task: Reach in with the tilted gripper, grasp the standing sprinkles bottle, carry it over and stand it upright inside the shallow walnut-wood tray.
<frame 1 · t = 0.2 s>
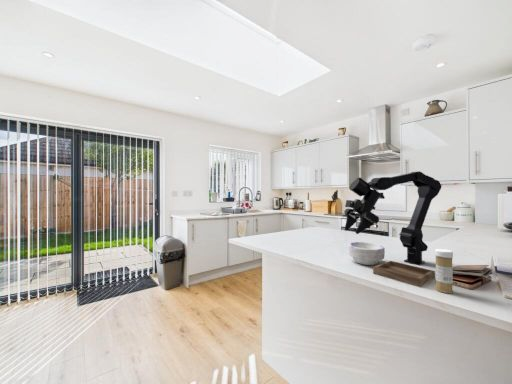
hand: (350, 231, 104), 15 cm above the countertop, tool tilted 35°, fingers open, 9 cm apart
walnut tray: (403, 275, 91), on the countertop
paper bowls: (365, 262, 108), on the countertop
sprinkles bottle: (443, 291, 77), on the countertop
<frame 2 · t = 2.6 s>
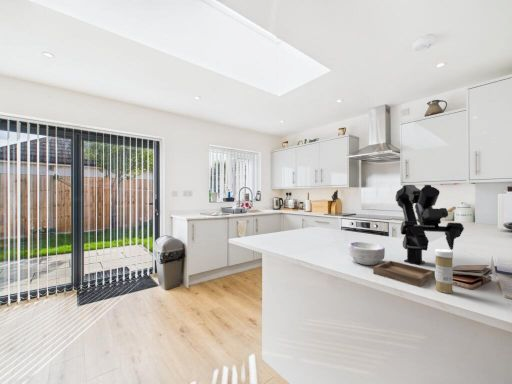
hand: (436, 248, 83), 13 cm above the countertop, tool tilted 45°, fingers open, 9 cm apart
nothing on the countertop moved.
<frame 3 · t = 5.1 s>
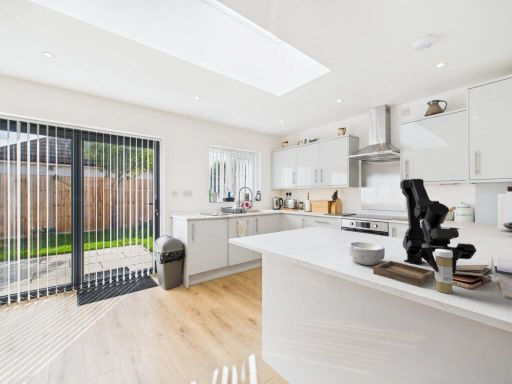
hand: (445, 272, 75), 7 cm above the countertop, tool tilted 45°, fingers closed on sprinkles bottle, 4 cm apart
sprinkles bottle: (443, 291, 77), on the countertop, touching gripper
everything else where it was.
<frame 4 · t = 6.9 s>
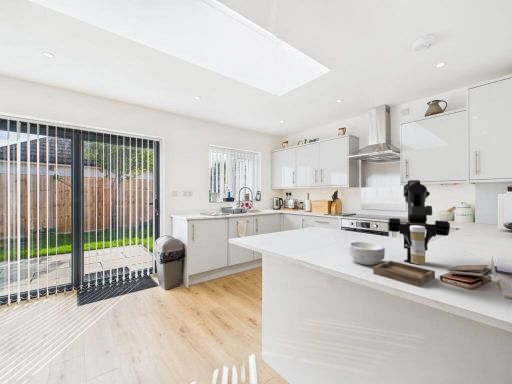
hand: (417, 245, 83), 13 cm above the countertop, tool tilted 45°, fingers closed on sprinkles bottle, 4 cm apart
sprinkles bottle: (417, 263, 85), point 7 cm above the countertop, touching gripper
everything else where it was.
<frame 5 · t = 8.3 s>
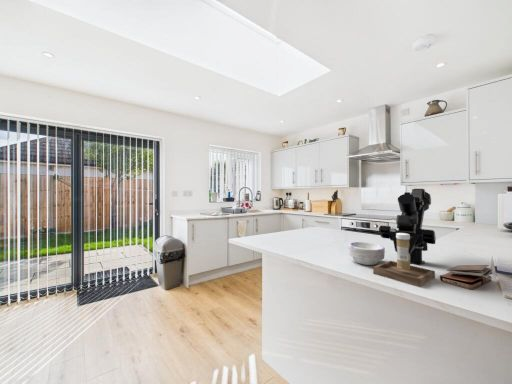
hand: (402, 251, 90), 9 cm above the countertop, tool tilted 45°, fingers closed on sprinkles bottle, 4 cm apart
sprinkles bottle: (403, 268, 91), point 3 cm above the countertop, touching gripper
everything else where it was.
when the fingers open (9 cm above the countertop, at t = 9.2 s): sprinkles bottle drops 1 cm, resting on walnut tray.
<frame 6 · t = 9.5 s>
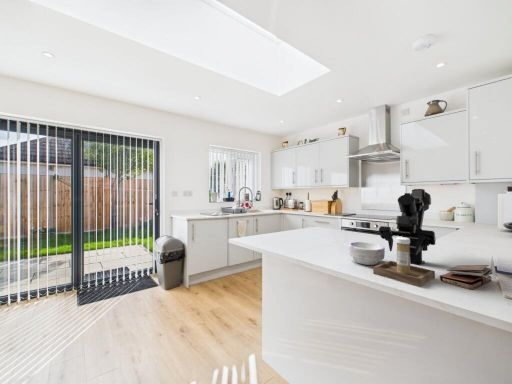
hand: (402, 252, 90), 9 cm above the countertop, tool tilted 45°, fingers open, 8 cm apart
sprinkles bottle: (403, 273, 91), point 1 cm above the countertop, touching walnut tray
everything else where it was.
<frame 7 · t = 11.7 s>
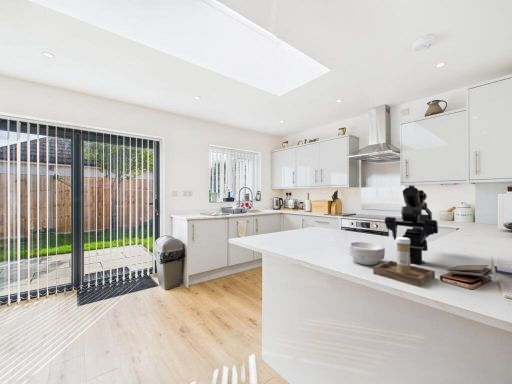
hand: (407, 240, 96), 12 cm above the countertop, tool tilted 45°, fingers open, 9 cm apart
nothing on the countertop moved.
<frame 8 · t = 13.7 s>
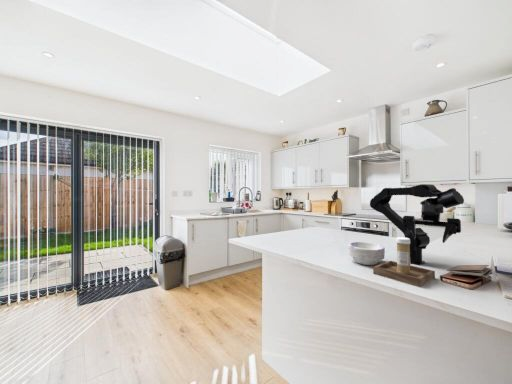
hand: (428, 240, 91), 14 cm above the countertop, tool tilted 45°, fingers open, 9 cm apart
nothing on the countertop moved.
at the end: sprinkles bottle inside the target area on the walnut tray (0.2 cm from its centre), point 1.0 cm above the walnut tray's base; sprinkles bottle tilted 0°; the gripper is holding nothing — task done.
